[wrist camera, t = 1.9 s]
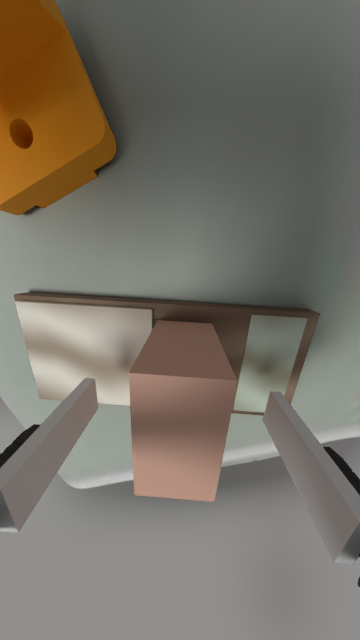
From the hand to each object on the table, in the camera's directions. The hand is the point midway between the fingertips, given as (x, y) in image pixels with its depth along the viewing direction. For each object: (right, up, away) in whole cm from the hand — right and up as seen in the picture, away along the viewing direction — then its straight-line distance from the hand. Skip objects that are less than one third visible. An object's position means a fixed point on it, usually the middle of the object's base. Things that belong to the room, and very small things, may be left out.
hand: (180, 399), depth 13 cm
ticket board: (-2, +2, +6) cm, 6 cm away
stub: (0, +2, +4) cm, 4 cm away
